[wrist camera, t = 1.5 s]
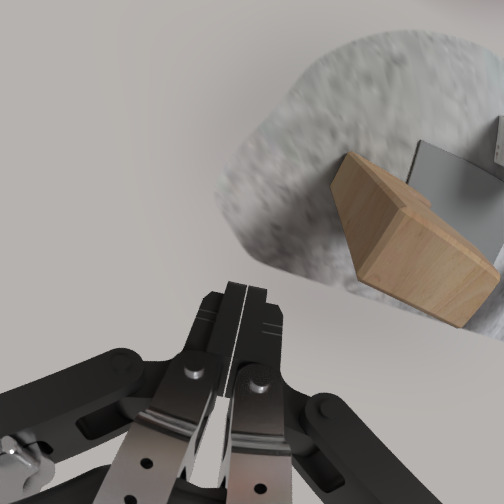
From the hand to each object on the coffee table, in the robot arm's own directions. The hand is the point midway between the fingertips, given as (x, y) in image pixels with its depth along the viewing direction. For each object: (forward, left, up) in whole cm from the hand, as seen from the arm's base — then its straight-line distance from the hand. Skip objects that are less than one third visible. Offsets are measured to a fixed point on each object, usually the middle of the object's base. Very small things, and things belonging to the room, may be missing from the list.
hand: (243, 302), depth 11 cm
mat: (-28, 0, -26) cm, 38 cm away
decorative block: (-13, 0, -26) cm, 29 cm away
